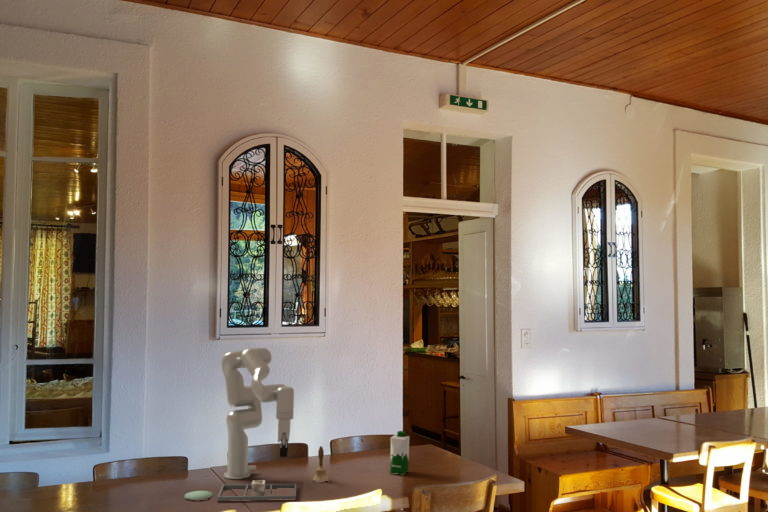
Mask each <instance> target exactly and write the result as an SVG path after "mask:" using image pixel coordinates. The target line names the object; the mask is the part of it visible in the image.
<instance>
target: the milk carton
mask: <svg viewBox="0 0 768 512" xmlns="http://www.w3.org/2000/svg"><path fill="white" fill-rule="evenodd" d="M396 433H397V434H395V435H392V436H391V437H390V439H389V441H390V460H389V461H390V466H389V467H390V468H389V469H390V470H389V471H390V472H389V473H398V474H404V473H406V472H407V471H408V472H409V468H410V466H409V465H410V463H409V462H410V439H411V438H410V435H406V431H404V430H399V431H397V432H396ZM406 474H407V473H406Z"/></svg>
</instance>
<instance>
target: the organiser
mask: <svg viewBox="0 0 768 512" xmlns="http://www.w3.org/2000/svg"><path fill="white" fill-rule="evenodd" d="M277 488H294V495H287V496H271V494H272V489H277ZM230 489H245V492H244V495H243V496H221V495H222V493H223V491H226V490H230ZM248 489H252V483H251V484H246V483H245V484H244V483H243V484H242V483H241V484H222V485H221V487H220V489H219V491H218V495H217V500H216V502H217V501H230V500H238V501H239V500H268V499H296V500H297V483H265V489H270V492H269V496H246V495H247V491H248Z"/></svg>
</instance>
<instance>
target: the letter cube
mask: <svg viewBox="0 0 768 512" xmlns="http://www.w3.org/2000/svg"><path fill="white" fill-rule="evenodd" d="M251 484H252V491H251V496H264V494H265V484H266V480H265V479H262V480H261V479H260V480H259V479H258V480H257V479H255V480H254V479H253V480H252V482H251Z"/></svg>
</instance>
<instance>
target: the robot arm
mask: <svg viewBox="0 0 768 512" xmlns="http://www.w3.org/2000/svg"><path fill="white" fill-rule="evenodd" d="M271 362H272V353H271V351H270V350H269V349H267V348H266V347H256V348H255V347H254V348H253V347H252V348H247V349H244V350H235V351H234V350H233V351H229V352H227V353H225V354H224V355H223V356H222V359H221V370H222V373H223V375H224V379H225V380H224V381H225V386H226V396H227V402H228V403H227V404H228V405H229V406H230V407H231V408H241V407H247V408H243V409H235V410H232V411H230V412H229V413H228V414H227V416H226V426H227V427H226V428H227V465H226V466H227V468H226V472H224V473H223V477H224V478H226V479H228V480H244V479H247V478H249V477H250V476H251V472H250V471H252V470H253V471H254V470H257V465H251V464H250V465H248V458H249V457H248V456H249V455H248V454H249V438H248V435H247V433H246V432H245V430H247V429H248V430H249V429H255V428H258V427H259V426H260V425H262V421H263V412H262V403H272V402H276V409H275V410H276V414H275V415H276V416H275V418H276V420H277V422H278V424H277V443H280V447H279V458H287V457H288V451H289V441H290V436H291V435H290V433H291V420H293V419H294V407H295V406H294V405H295V403H294V401H295V397H294V396H295V390H294V388H293V387H291V386H287V385H285V384H283V383H278V384H267V385H264V383H262V381H264V380H265V379H266V378H267V377H268V376H269V375H270V372H271V371H270V366H269V365H270V364H271ZM239 369H247V371H248V372H249V373H250V375H251V376H252V377H251V381H250V382H251V385H246V386H245V380H244V377H243V375H242V373H241V372H240V370H239ZM243 478H244V479H243Z"/></svg>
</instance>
